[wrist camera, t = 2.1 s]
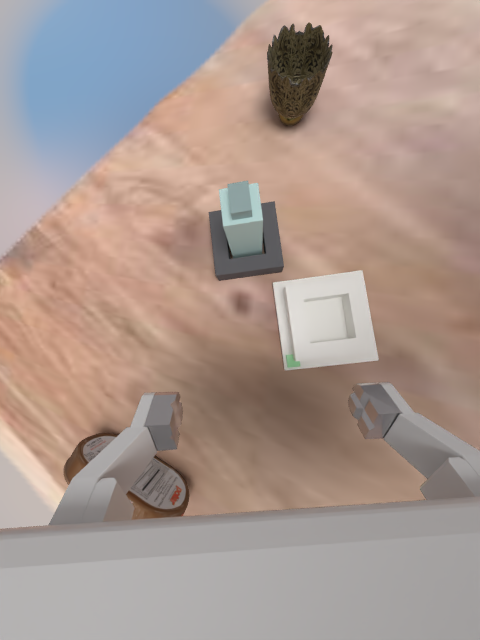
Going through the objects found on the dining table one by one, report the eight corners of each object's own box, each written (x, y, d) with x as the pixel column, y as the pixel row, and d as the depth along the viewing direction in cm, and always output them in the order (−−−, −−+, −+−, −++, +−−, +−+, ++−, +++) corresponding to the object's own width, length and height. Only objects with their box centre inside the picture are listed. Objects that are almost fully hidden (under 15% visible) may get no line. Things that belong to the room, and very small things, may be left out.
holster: (273, 212, 33) (274, 201, 30) (281, 271, 32) (283, 266, 29) (212, 221, 33) (208, 212, 31) (219, 280, 32) (215, 275, 30)
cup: (318, 95, 34) (336, 20, 26) (312, 140, 33) (329, 78, 25) (268, 94, 35) (271, 20, 27) (262, 138, 34) (263, 76, 26)
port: (360, 271, 31) (371, 264, 28) (376, 359, 30) (389, 362, 27) (272, 283, 32) (273, 277, 29) (284, 369, 30) (287, 373, 27)
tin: (98, 441, 32) (40, 476, 23) (109, 420, 32) (56, 449, 24) (189, 500, 30) (162, 562, 22) (200, 478, 30) (177, 531, 22)
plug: (258, 231, 33) (257, 174, 22) (261, 257, 32) (263, 213, 21) (231, 235, 33) (216, 181, 22) (234, 261, 32) (221, 220, 21)
